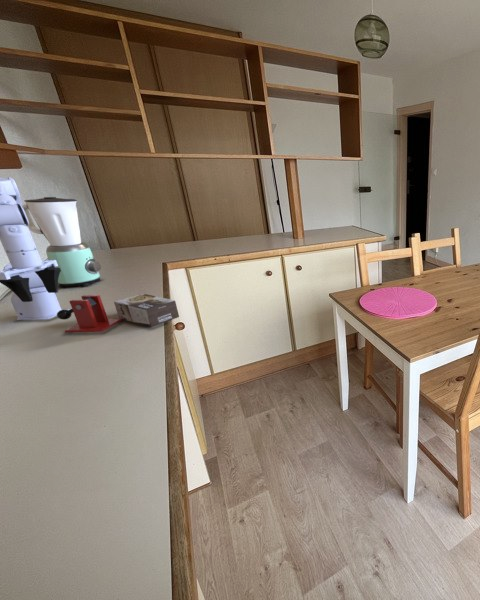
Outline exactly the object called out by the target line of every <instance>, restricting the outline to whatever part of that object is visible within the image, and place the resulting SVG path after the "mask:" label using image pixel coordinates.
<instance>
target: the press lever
mask: <svg viewBox="0 0 480 600" xmlns="http://www.w3.org/2000/svg"><path fill="white" fill-rule="evenodd" d="M85 300H89V302H90V305H91V306H93V305H95V304H97V303H96V302H95V301H94V300H93V299H92V298H91V297H90V298H87V299H85ZM69 309H70V308H69ZM72 314H74V312H73V309H72V308H71V309H70V310H60V311H58V313H57V316H56V317H57V318H58V319H60V320H69V319H70V318H71V317H72Z"/></svg>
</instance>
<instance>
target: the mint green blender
mask: <svg viewBox="0 0 480 600" xmlns="http://www.w3.org/2000/svg"><path fill="white" fill-rule="evenodd" d="M23 201H24V202H25V204H22V208H23V209H24V211H25V213H26V216H27V218H28V221H29V226H28V225H26V224H25V226H27V227H28V228H29V230H30V232H31V233H34V234H37V235H43V236H44V238H45V239H46V240H47V242H48V243H49V245H48V246H47V247H46V250H45V253H46V256H47V259H48V260H56V261H57V264H58V266H57V267H55V268H60V269H61V272H60V274H59V277H58V287H59V288H60V289H63V288H67V287H76V286H77V287H78V286H81V288H86V287H88V286H89V284H93V283H95V282H100V281H101V274H100V271H101V269H102V265H101V263H100V262H99V261H96V260H95V257H94V255H93V252H92V249H91V248H90V246H89V245H88V244H86V243H85V242H82V236H81V228H80V222H79V221H80V220H79V213H78V209H77V202H78V200H77V199H75V198H61V197H56V196H44V197H42V198H36V199H35V198H33V199H25V200H23ZM32 217H33V218H32ZM33 219H34V220H33ZM34 221H35V223H36V224H37V226H38V227H37V226H36V224H35V223H34Z"/></svg>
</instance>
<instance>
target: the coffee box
mask: <svg viewBox="0 0 480 600" xmlns="http://www.w3.org/2000/svg"><path fill="white" fill-rule="evenodd" d="M113 303H114V306H115V310H116V314H117V316H118V319H122V320H124V321H127V322H131V323H134V324H137V325H142V326H145V327H148V328H153V327H156V326H159V325H162V324H164V323H167V322H170V321H173V320H175V319H178V318H180V313H179V311H178V310H179V309H178V307H177V302H176V300H173V299H170V298H164V297H160V296H156V295H151V294H147V293H140V294H137V295H132V296H129V297H126V298H122V299H119V300H115V301H114V302H113Z"/></svg>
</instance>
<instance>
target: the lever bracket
mask: <svg viewBox="0 0 480 600" xmlns="http://www.w3.org/2000/svg"><path fill="white" fill-rule="evenodd" d="M90 297H91V298H92V299H93V300H94V301H95V302H96V303H97V304H95V305H93V306H91V305H90V302H89V300H85V299H87V298H90ZM69 304H70V307H71V309H73V314H74V317H75V320H76V323H77V324H75V325H73V326H71V327H69V328H67V329H65V330H64V331H65V332H64V333H66V334H69V333H104V332H105V331H107V330H108V329H110V328H112V327H113V326H115V325H117V324H119V323H120V322H123V319H120V318H108V315H107V312H106V309H105V307H104V306H105V305H104V304H103V300H102V297H101V295H100V294H83V295H81V299H71V300H69Z"/></svg>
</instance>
